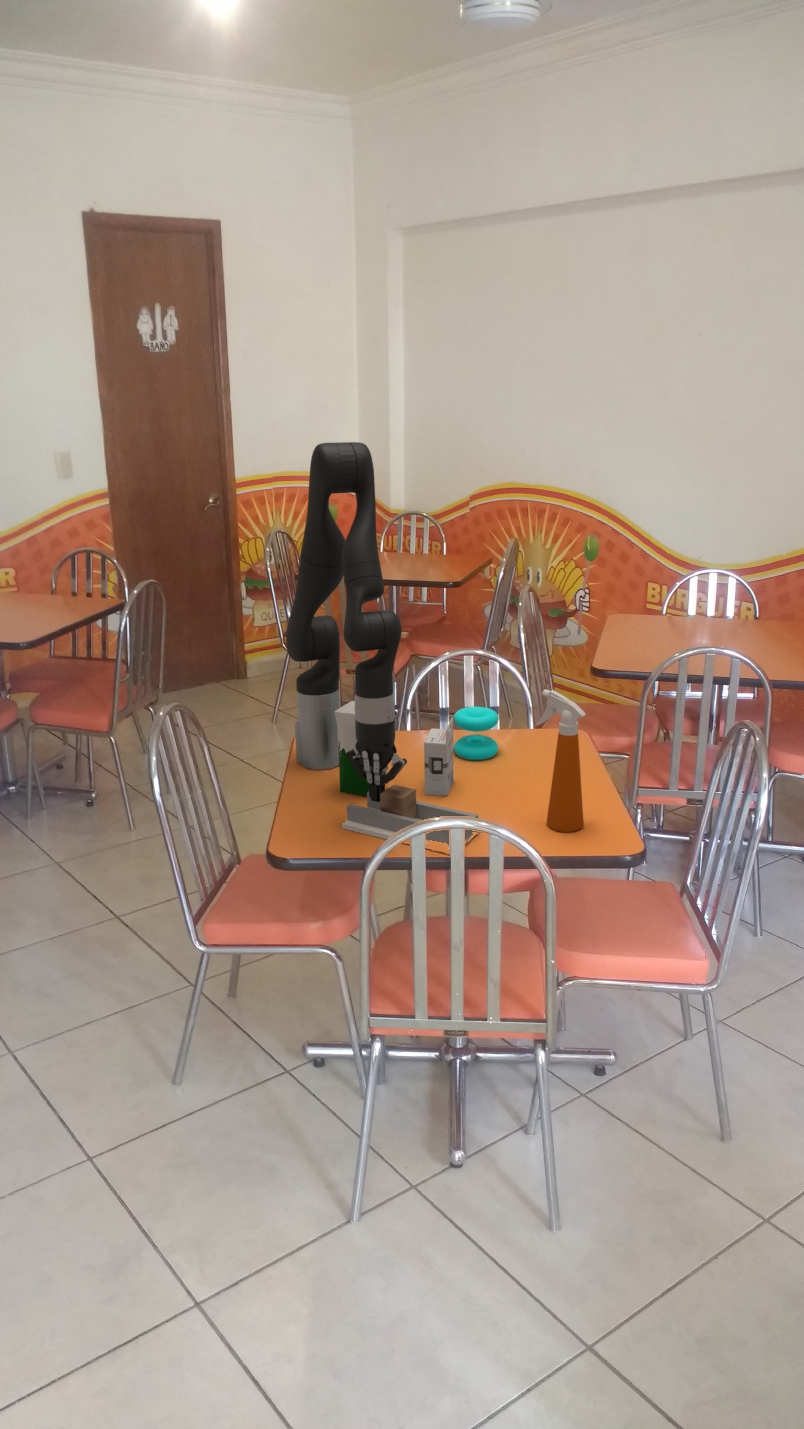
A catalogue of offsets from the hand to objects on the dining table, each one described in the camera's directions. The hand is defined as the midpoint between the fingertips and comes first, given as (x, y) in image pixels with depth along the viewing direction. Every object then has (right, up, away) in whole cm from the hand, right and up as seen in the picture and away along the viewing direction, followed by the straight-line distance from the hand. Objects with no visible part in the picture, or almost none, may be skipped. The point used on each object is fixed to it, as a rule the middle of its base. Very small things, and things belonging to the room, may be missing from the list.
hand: (377, 800), depth 201 cm
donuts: (+22, +7, +35) cm, 41 cm away
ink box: (+13, +1, +17) cm, 21 cm away
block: (+4, -4, -1) cm, 6 cm away
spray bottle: (+35, -4, 0) cm, 35 cm away
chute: (+7, -5, -2) cm, 9 cm away
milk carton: (-4, +1, +17) cm, 17 cm away
